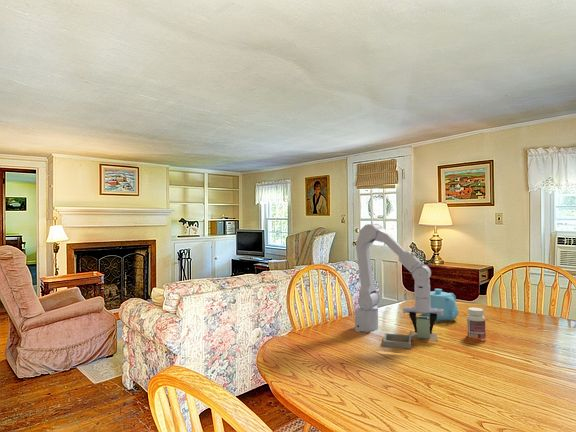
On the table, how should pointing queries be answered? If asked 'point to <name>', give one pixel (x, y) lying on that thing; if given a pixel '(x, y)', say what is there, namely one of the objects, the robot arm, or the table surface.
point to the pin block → (432, 338)
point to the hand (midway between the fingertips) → (423, 332)
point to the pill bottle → (476, 324)
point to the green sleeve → (423, 327)
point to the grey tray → (397, 344)
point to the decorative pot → (443, 305)
